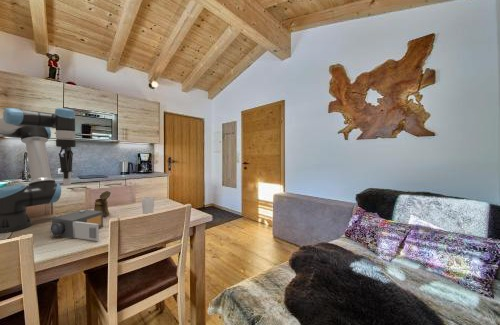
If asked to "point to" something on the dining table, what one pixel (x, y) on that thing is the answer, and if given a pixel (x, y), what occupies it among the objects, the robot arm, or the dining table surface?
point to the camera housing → (65, 222)
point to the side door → (86, 230)
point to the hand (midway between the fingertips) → (67, 184)
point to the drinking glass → (148, 204)
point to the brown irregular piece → (102, 203)
